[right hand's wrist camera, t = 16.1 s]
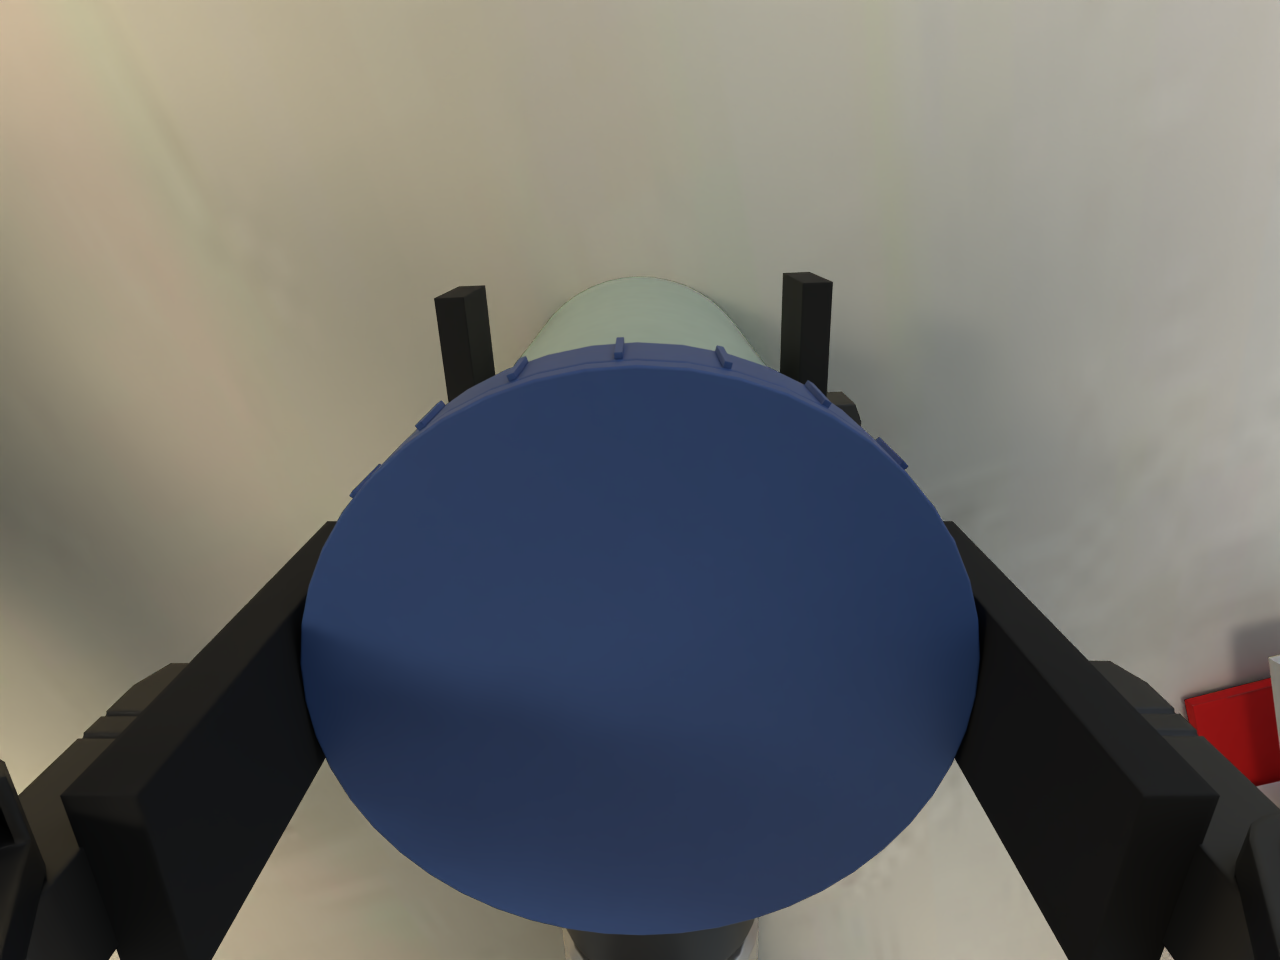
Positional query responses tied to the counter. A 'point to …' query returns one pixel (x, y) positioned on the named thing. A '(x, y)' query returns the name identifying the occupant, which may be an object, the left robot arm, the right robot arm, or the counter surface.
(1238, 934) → the right robot arm
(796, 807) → the lid
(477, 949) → the counter surface
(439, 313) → the left robot arm
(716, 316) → the jar
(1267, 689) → the toy
